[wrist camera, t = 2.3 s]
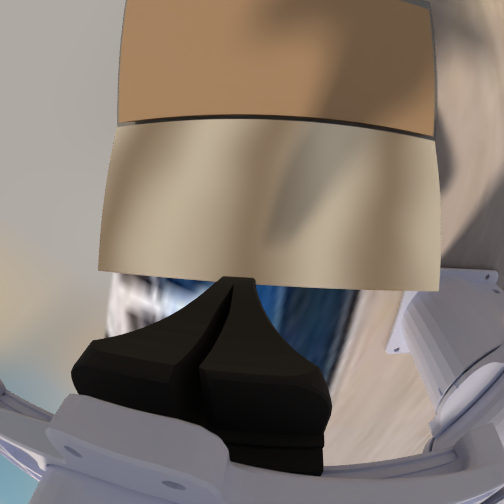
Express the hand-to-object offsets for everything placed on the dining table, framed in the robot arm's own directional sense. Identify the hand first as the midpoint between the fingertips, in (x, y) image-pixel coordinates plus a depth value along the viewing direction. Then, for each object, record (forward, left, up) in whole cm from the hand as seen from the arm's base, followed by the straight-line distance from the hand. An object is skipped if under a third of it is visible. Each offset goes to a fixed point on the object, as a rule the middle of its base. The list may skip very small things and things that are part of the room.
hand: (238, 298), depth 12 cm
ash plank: (-1, -3, -5) cm, 6 cm away
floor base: (-1, -7, -8) cm, 11 cm away
